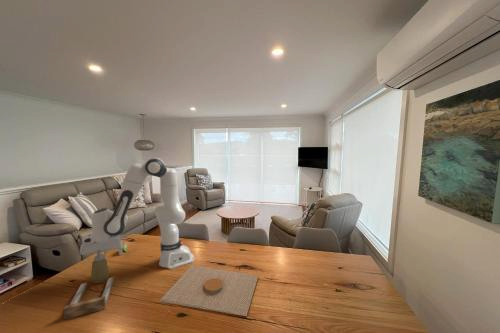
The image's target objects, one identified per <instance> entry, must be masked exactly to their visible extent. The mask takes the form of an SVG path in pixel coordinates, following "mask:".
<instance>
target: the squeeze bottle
mask: <svg viewBox="0 0 500 333" xmlns="http://www.w3.org/2000/svg"><path fill="white" fill-rule="evenodd" d="M90 274H91V275H90V278H91V280H92V282H93V284H101V283H103V282H105V281H107V280H108V279H107V278H108V275H109V266H108V260H107V258H104V255H103V254H102V252H101V251H100V250H98V252H97V253H96V255H95V256H94V258H93V261H92V263H91V272H90Z"/></svg>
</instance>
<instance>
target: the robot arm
mask: <svg viewBox="0 0 500 333" xmlns="http://www.w3.org/2000/svg"><path fill="white" fill-rule="evenodd" d="M148 176H151V177H157V178H159V181H160V182H159V186H160V188H159V190H160V194H159V195H160V199H161V201H162V202H163V203H161V204H158V205H156V207H155V209H154V214H155V217H156V219H157V222H158V225H159V229H160V238H161V239H160V240H161V241H160V257H159V258H160V259H159V262H158V265H159V267H162V268H167V269H169V270H173V269H177V268H178V267H182V266H184V265H187V264H191V263H193V262H194V260H195V256H194V254H193V253H192V252H191V250H190V248H189V247H188V246H186V245H184V243H183V240H182V239H181V238H179V236H180V234H179V233H180V231H179V227H178V225H180V224H182V223H183V222H184V220H185V219H186V211H185V210H184V208H183V207H182V204H181V201H180V197H179V177H178V173H177V170H176V169H174V168H172V167H167V166H166V165H165V162H164V161H163V160H162V159H161V158H158V157H152V158H150V159H147V161H146V162H145V163H144V164H141V163H133V164H131V165H130V167H129V168H128V170H127V172H126V174H125V176H124V179H122V183H121V184H122V185H121V189H120V194H119V198H118V201H117V203H116V206H115V208H114V210H111V209H109V208H107V207H106V208H100V209H97V210H95V211H94V212H93V213H92V215H91V227H92V231H91V233H90V234H88V235H85V236H84V237H83V238H82V240H81V245H80V247H79V248H80V249H79V254H80V255H82V256H85V255H91V254H97V252H98V250H100V251H101V253H102V252H104V254H102V255H104V258H106V257H107V254H108V252H109V251H116V250H119V249H120V248H121V247H122V245H123V242H122V241H123V240H122V239H123V235H122V233H123V231H124V230H125V227H126V226H127V223H128V221H129V216H128V214H127V213H128V210H129V208H130V205H131V203H132V202H133V201H134V199H135V198H136V197H137V196H138V194H139V193H140V192H141V190H142V188H143V186H144V184H145V181H146V178H148ZM106 259H107V258H106Z"/></svg>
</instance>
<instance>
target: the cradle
mask: <svg viewBox="0 0 500 333" xmlns="http://www.w3.org/2000/svg"><path fill="white" fill-rule="evenodd" d="M114 282H115V277H114V276H113V277H109V278H108V279H107V282H106V285H105V288H104V290H103V293H102V295H101V297H97V298H91V299H89V300H84V301H82V299H83V296H84V295H85V292H86V290H87V289H88V282H84V283H81V284H80V286H79V287H78V289H77V291H76V292H75V294H74V296H73V298H72V299H71V302H70V303H69V304H67V305H65V306H64V307H63V317H64V320H68V319H72V318H76V317H79V316H83V315H87V314H91V313H95V312H99V311H102V310H106V307H107V305H108V304H107V303H108V302H109V298H110V294H111V292H112V289H113V287H114Z"/></svg>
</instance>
